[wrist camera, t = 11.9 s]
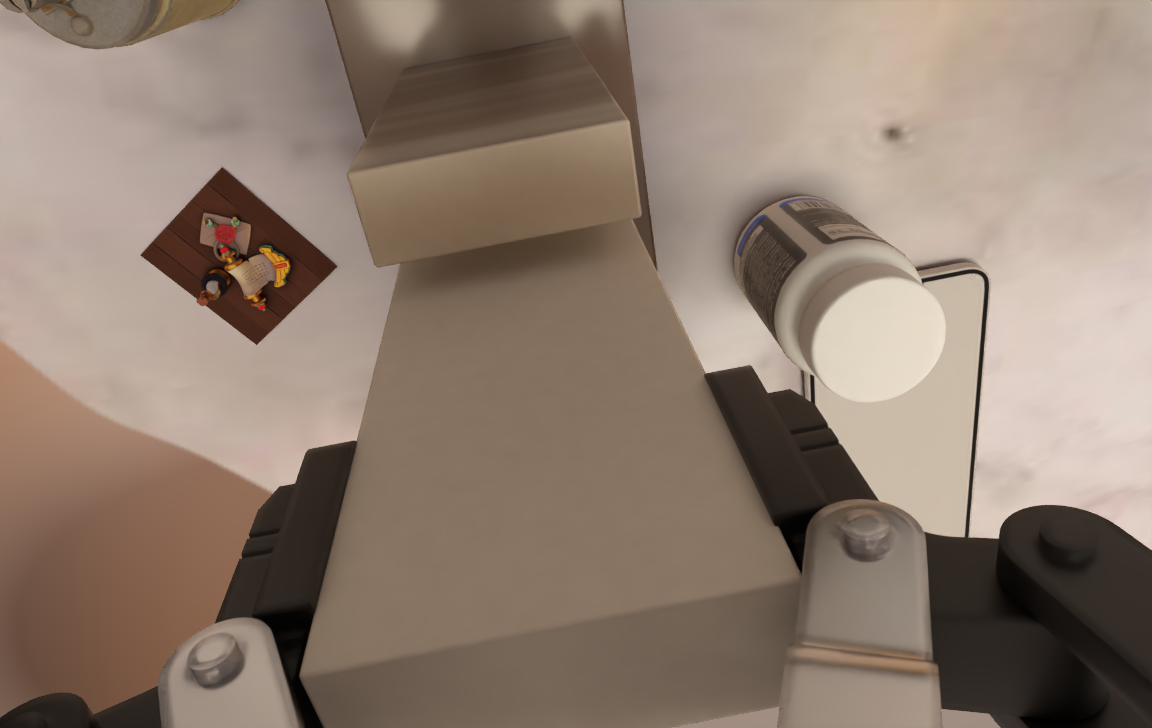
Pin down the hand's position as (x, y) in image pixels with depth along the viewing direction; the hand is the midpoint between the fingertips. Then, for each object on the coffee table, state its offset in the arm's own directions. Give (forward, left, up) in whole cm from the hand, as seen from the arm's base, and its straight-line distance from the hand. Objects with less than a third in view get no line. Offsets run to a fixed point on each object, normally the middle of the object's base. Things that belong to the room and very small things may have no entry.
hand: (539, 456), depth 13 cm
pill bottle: (+1, +11, -18) cm, 21 cm away
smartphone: (+8, +18, -18) cm, 27 cm away
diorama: (+5, -9, -18) cm, 21 cm away
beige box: (0, 0, -7) cm, 7 cm away
